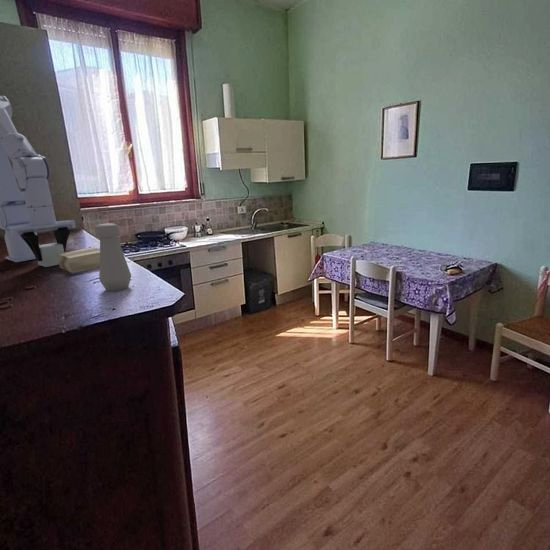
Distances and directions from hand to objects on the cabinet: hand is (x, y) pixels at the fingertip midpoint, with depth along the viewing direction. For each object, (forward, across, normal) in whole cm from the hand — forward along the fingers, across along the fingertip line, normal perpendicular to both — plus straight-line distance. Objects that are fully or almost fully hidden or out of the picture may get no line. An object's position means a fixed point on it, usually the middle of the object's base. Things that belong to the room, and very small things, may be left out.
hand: (51, 258), depth 95 cm
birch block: (+2, +4, -10) cm, 11 cm away
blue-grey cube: (+1, 0, 0) cm, 1 cm away
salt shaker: (+2, -1, -36) cm, 36 cm away
